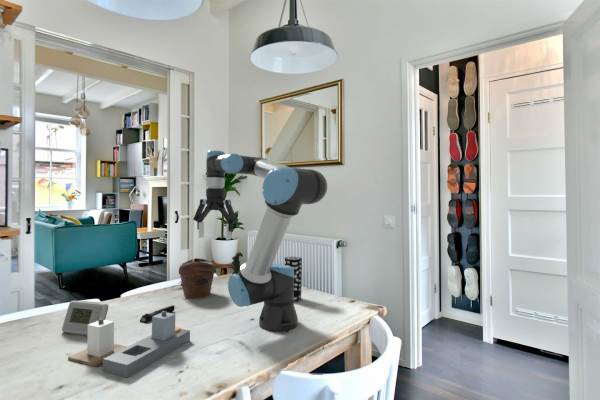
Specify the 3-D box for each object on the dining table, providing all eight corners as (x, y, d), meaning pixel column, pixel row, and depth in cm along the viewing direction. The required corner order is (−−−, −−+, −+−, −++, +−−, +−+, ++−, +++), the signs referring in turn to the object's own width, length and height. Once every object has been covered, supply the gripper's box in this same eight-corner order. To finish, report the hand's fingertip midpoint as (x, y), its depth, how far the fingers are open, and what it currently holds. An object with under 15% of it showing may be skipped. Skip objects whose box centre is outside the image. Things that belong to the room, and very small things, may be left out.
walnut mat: (131, 350, 110) (131, 347, 110) (97, 367, 98) (97, 364, 98) (103, 343, 114) (103, 341, 114) (68, 359, 103) (68, 356, 103)
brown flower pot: (198, 287, 185) (199, 254, 185) (224, 294, 174) (224, 258, 173) (169, 295, 171) (169, 259, 170) (194, 303, 159) (194, 264, 159)
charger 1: (113, 350, 108) (113, 317, 108) (99, 357, 103) (99, 323, 103) (101, 347, 109) (102, 315, 109) (87, 354, 105) (87, 320, 105)
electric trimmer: (176, 313, 146) (177, 305, 146) (145, 324, 132) (145, 316, 132) (170, 311, 148) (170, 304, 148) (139, 322, 134) (139, 314, 134)
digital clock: (59, 332, 122) (59, 303, 122) (83, 324, 131) (84, 296, 130) (89, 341, 116) (89, 310, 116) (113, 332, 124) (113, 302, 124)
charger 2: (175, 341, 113) (175, 310, 113) (164, 347, 109) (164, 315, 109) (163, 338, 115) (163, 308, 115) (151, 344, 111) (152, 312, 110)
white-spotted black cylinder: (304, 298, 168) (305, 257, 168) (295, 303, 161) (295, 260, 161) (290, 295, 172) (290, 256, 172) (280, 299, 165) (281, 258, 165)
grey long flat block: (189, 340, 117) (190, 328, 117) (127, 377, 93) (127, 362, 93) (168, 336, 121) (169, 324, 121) (102, 371, 96) (103, 356, 96)
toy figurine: (228, 285, 196) (253, 291, 177) (227, 252, 197) (251, 254, 178) (242, 283, 202) (267, 288, 184) (241, 250, 203) (266, 252, 185)
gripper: (245, 188, 143) (245, 239, 144) (196, 188, 152) (195, 235, 152) (236, 187, 136) (235, 241, 136) (185, 187, 145) (184, 237, 145)
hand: (214, 238), depth 144 cm, fingers open, 13 cm apart
